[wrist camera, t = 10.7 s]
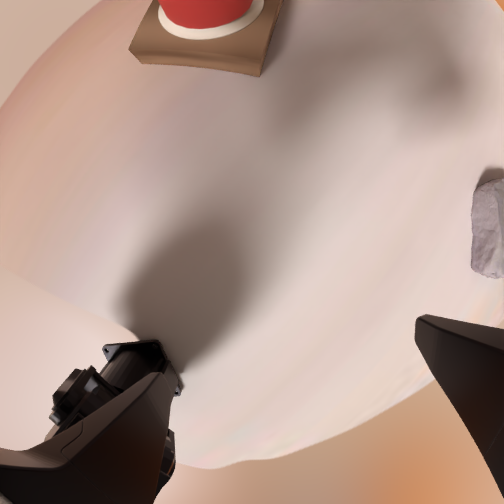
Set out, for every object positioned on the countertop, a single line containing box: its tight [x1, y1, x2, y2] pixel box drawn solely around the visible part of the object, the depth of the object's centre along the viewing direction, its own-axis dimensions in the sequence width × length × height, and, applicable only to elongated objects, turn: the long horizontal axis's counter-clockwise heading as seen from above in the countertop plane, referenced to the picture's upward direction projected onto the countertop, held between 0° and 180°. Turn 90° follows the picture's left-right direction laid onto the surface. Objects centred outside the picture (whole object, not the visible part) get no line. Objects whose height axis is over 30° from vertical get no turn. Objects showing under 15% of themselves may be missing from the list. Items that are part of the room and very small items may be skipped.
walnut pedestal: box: [128, 0, 283, 77], centre depth 15 cm, size 10×10×3 cm
